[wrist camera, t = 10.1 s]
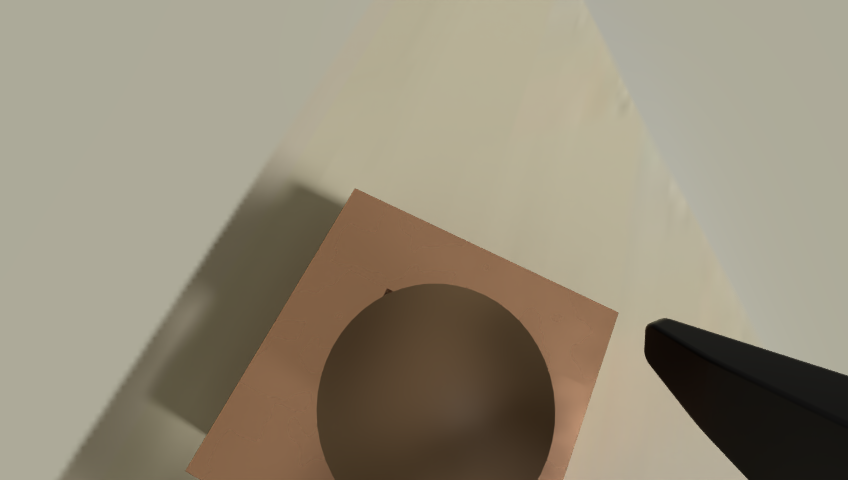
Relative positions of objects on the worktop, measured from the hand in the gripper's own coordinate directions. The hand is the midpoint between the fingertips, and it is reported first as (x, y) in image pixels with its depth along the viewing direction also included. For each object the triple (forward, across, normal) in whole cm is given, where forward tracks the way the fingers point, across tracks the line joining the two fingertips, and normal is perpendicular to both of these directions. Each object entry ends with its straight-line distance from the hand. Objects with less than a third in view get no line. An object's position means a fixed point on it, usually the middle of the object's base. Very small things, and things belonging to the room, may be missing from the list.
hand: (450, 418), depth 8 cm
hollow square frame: (+9, 0, +8) cm, 12 cm away
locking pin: (+9, 0, +8) cm, 12 cm away
